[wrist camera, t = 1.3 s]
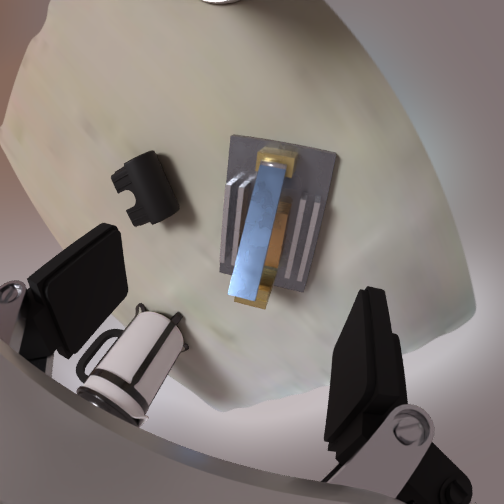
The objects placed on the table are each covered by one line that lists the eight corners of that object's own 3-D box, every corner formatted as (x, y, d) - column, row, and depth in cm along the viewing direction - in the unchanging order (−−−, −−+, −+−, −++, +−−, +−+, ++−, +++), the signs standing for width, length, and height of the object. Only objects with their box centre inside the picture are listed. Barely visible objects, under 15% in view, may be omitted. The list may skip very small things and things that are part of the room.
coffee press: (154, 284, 56) (62, 399, 30) (207, 339, 60) (144, 461, 34) (118, 312, 64) (44, 403, 39) (163, 357, 68) (106, 453, 42)
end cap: (188, 203, 45) (167, 219, 40) (155, 215, 48) (133, 232, 42) (163, 146, 41) (138, 154, 36) (131, 163, 44) (106, 174, 38)
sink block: (234, 134, 38) (208, 143, 30) (335, 152, 36) (337, 166, 28) (222, 267, 49) (201, 300, 42) (304, 287, 47) (297, 324, 39)
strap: (262, 161, 33) (261, 158, 32) (287, 166, 33) (287, 162, 32) (229, 294, 32) (227, 294, 31) (255, 300, 32) (254, 301, 31)
